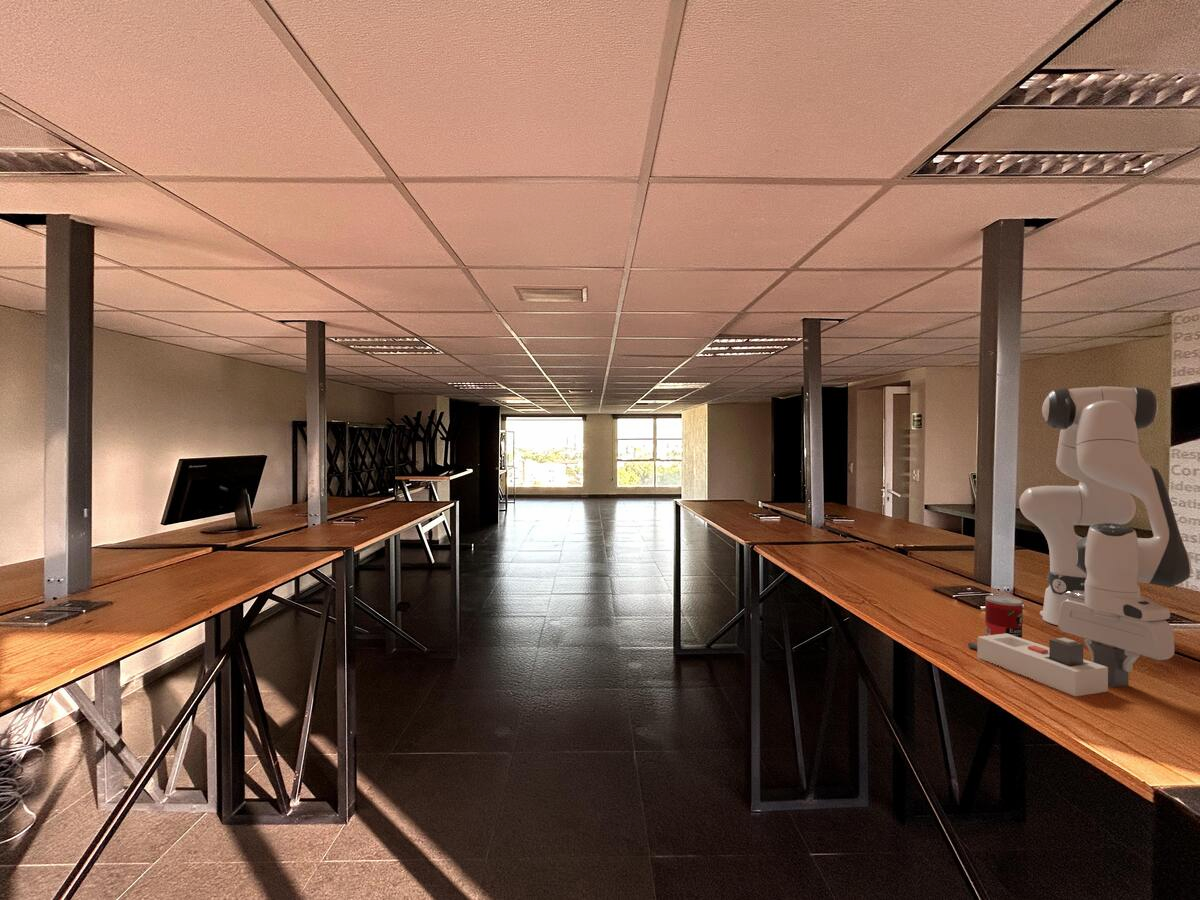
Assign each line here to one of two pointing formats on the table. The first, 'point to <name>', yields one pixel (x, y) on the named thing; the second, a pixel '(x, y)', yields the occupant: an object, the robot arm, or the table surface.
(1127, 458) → the robot arm
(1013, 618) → the canned food
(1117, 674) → the plug
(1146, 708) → the table surface
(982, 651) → the pdu strip
